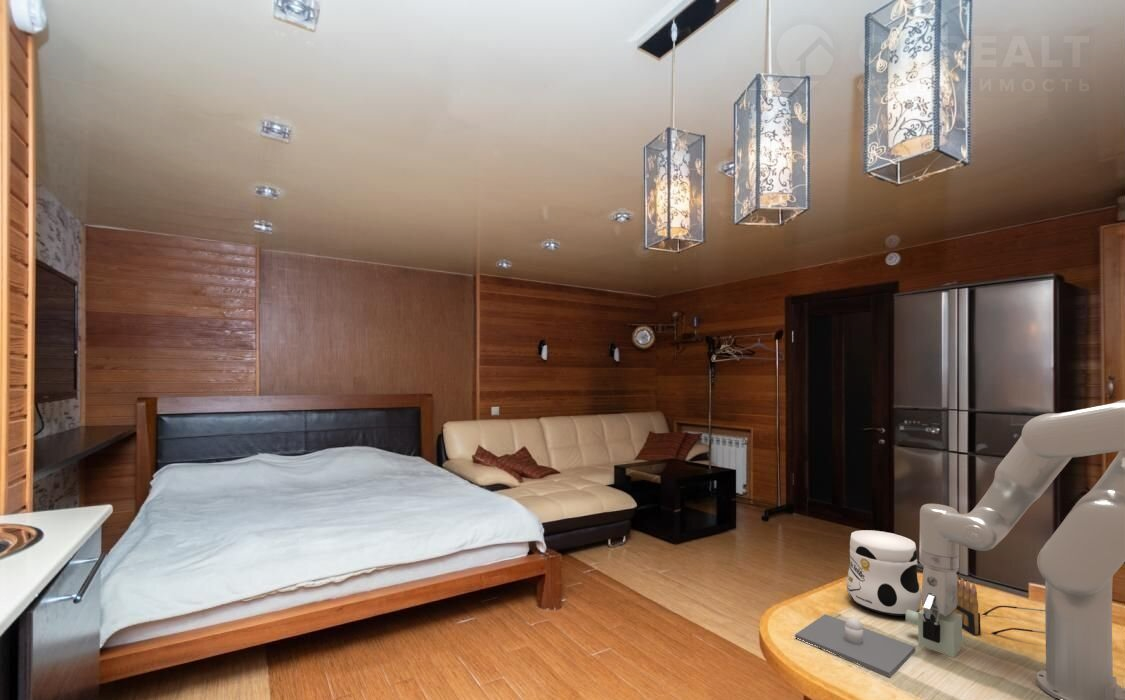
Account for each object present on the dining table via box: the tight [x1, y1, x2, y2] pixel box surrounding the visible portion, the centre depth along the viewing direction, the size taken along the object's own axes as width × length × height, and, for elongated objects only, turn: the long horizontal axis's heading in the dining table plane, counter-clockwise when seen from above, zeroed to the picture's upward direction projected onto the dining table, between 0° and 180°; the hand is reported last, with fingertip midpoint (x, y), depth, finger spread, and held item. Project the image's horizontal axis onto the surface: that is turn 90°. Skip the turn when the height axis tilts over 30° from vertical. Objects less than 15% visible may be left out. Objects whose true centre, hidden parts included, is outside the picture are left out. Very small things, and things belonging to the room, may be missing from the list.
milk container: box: [845, 529, 922, 617], centre depth 142 cm, size 17×17×18 cm
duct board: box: [794, 613, 916, 678], centre depth 122 cm, size 20×16×6 cm
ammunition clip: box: [952, 575, 982, 636], centre depth 132 cm, size 11×2×12 cm, turn 3°
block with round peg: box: [905, 608, 963, 658], centre depth 123 cm, size 10×7×7 cm
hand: (937, 633), depth 122 cm, fingers open, 9 cm apart
